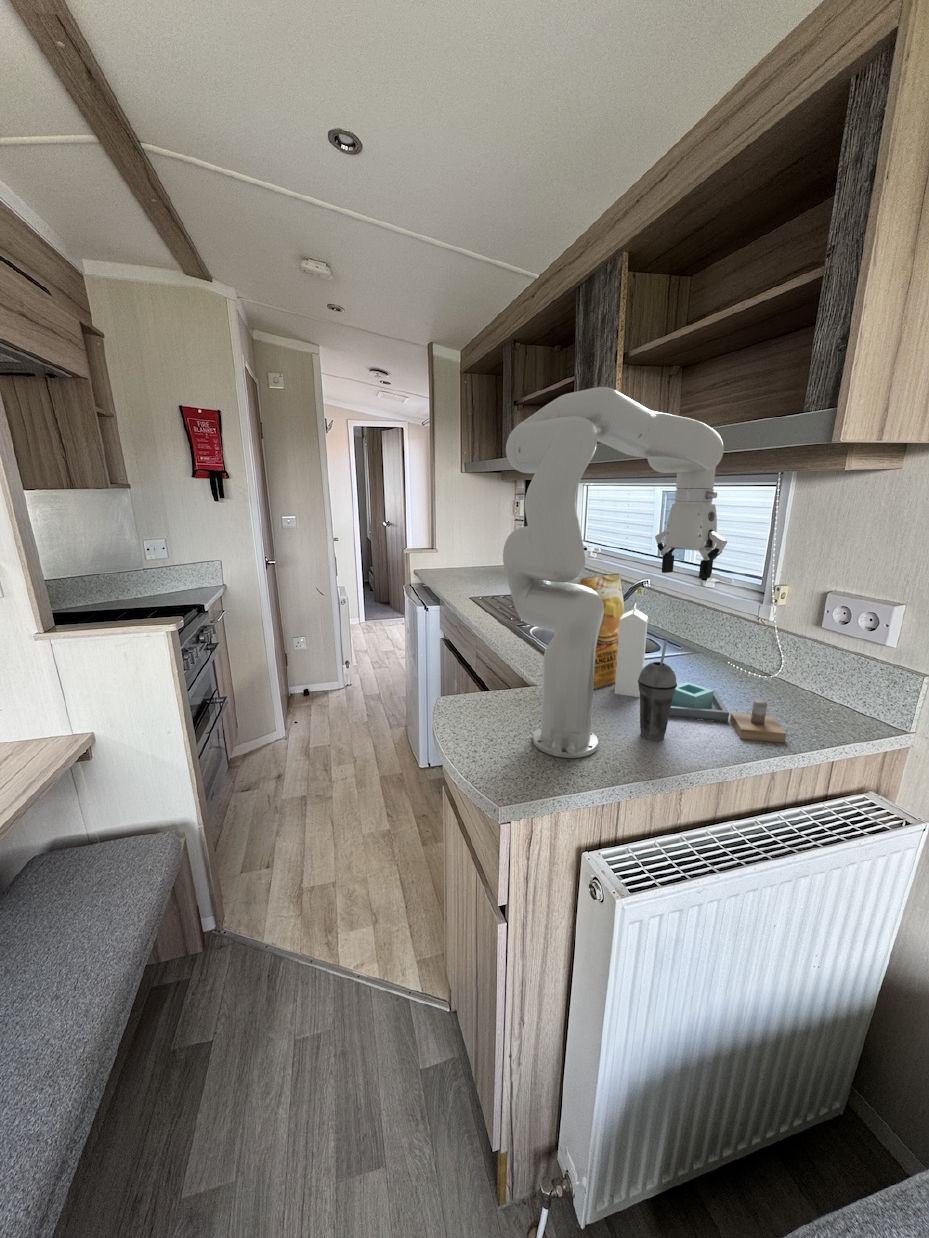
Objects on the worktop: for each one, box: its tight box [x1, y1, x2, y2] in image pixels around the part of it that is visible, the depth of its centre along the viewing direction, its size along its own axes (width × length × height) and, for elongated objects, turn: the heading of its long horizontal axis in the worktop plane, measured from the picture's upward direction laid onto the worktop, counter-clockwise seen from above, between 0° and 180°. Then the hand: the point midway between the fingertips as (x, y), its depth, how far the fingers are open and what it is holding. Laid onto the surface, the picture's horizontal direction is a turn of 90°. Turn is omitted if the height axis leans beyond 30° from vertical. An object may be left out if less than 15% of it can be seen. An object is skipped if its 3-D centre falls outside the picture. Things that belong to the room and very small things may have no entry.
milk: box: [614, 603, 649, 698], centre depth 123 cm, size 6×6×22 cm
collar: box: [671, 681, 714, 709], centre depth 116 cm, size 7×9×4 cm
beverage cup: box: [638, 640, 678, 742], centre depth 100 cm, size 7×7×20 cm
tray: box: [669, 689, 730, 723], centre depth 116 cm, size 13×13×2 cm
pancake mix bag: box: [577, 573, 626, 690], centre depth 129 cm, size 7×19×28 cm, turn 124°
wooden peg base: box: [729, 699, 787, 744], centre depth 103 cm, size 8×8×6 cm
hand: (685, 575), depth 115 cm, fingers open, 9 cm apart
